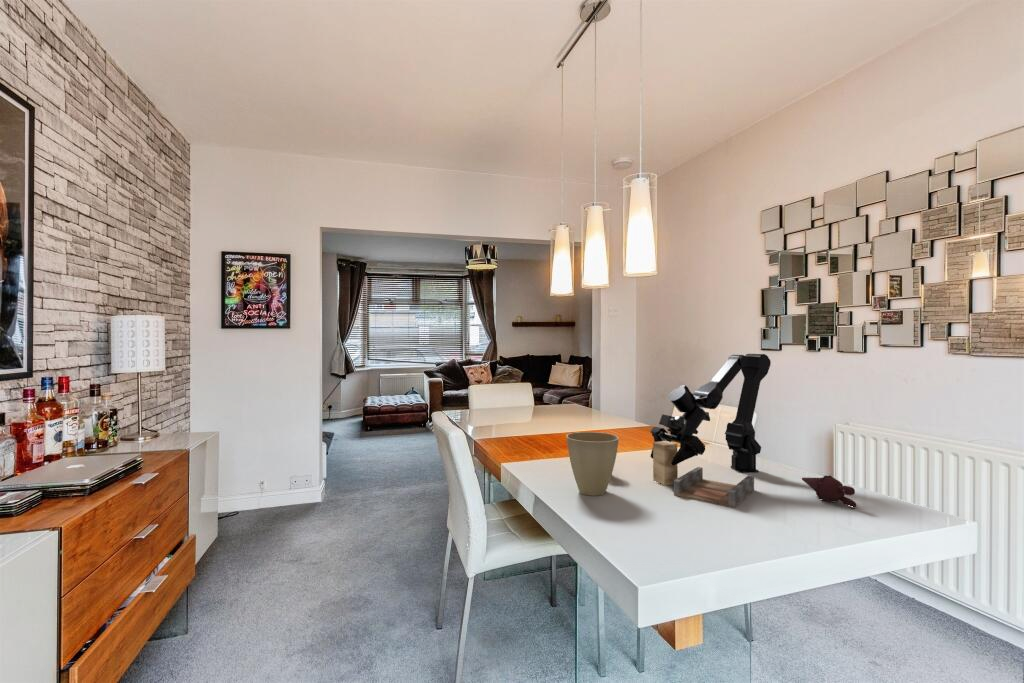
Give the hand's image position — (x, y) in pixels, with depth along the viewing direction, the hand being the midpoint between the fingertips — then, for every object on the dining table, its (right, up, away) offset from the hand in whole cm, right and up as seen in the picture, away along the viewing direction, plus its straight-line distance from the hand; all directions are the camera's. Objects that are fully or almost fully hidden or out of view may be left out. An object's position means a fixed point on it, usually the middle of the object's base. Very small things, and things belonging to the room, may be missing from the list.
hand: (661, 461), depth 143 cm
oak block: (+1, -7, +1) cm, 7 cm away
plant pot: (-22, -7, -8) cm, 25 cm away
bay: (+12, -6, -10) cm, 17 cm away
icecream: (+39, -7, -17) cm, 43 cm away
